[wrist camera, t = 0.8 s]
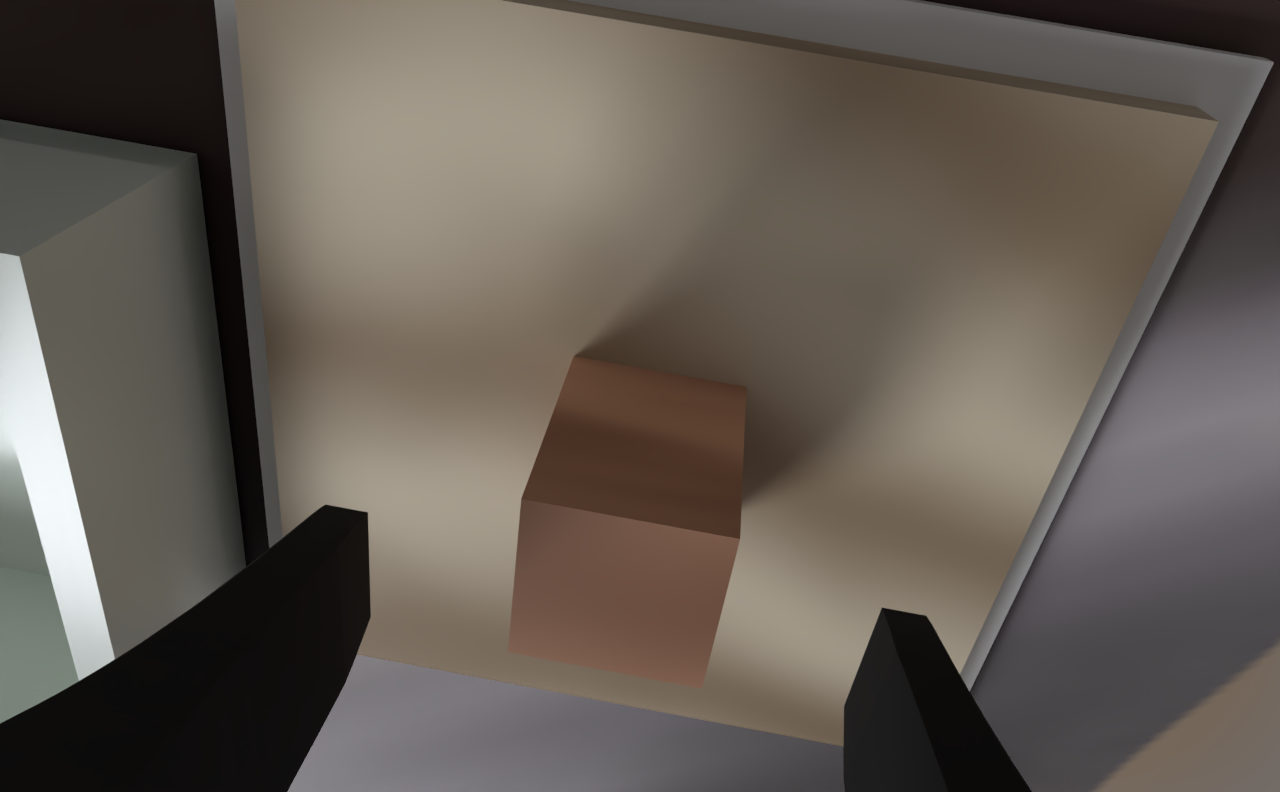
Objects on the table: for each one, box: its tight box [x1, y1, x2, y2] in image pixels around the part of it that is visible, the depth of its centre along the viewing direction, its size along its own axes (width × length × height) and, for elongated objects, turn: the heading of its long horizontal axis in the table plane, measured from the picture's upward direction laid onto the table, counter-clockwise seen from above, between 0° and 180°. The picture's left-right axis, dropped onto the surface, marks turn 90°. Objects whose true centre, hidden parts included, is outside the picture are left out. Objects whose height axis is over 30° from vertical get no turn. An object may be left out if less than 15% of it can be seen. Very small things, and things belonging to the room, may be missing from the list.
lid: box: [235, 0, 1219, 747], centre depth 15 cm, size 14×14×5 cm
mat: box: [214, 0, 1274, 691], centre depth 18 cm, size 16×16×1 cm
